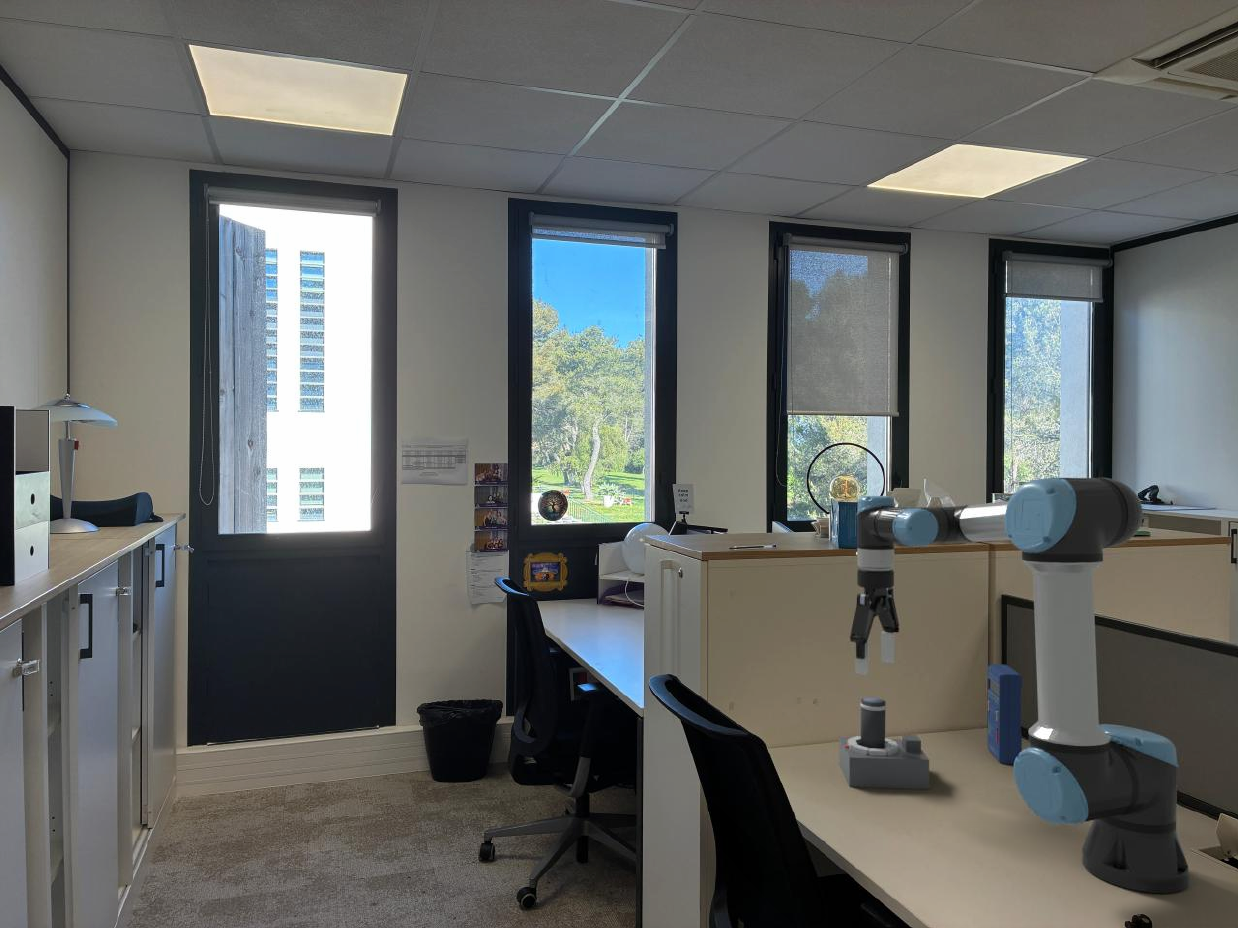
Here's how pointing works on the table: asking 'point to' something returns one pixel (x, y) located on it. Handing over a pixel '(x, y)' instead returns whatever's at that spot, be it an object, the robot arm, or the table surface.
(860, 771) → the camera body
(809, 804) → the table surface
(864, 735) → the lens
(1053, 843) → the table surface
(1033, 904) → the table surface
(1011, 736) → the electronic device
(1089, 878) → the table surface
